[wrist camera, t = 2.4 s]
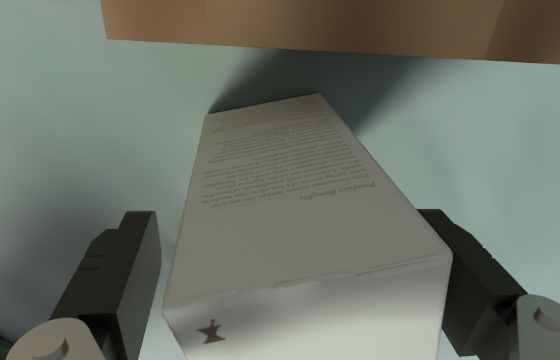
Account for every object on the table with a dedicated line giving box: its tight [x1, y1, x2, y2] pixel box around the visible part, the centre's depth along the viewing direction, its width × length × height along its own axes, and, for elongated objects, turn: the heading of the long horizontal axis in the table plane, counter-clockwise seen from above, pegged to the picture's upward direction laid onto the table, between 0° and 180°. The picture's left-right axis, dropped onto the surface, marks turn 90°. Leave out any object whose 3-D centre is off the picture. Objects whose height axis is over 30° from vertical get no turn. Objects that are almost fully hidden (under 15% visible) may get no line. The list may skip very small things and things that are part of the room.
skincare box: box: [161, 93, 453, 360], centre depth 13 cm, size 6×4×12 cm
